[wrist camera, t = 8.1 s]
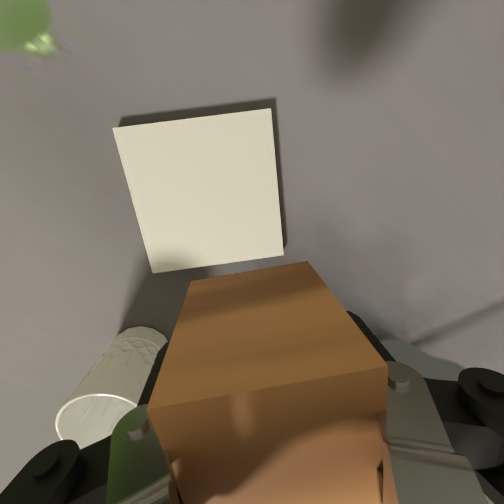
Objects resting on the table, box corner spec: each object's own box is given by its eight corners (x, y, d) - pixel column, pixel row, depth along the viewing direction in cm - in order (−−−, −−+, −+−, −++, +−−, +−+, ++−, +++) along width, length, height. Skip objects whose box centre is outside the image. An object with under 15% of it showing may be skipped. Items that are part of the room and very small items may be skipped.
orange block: (190, 281, 11) (146, 409, 5) (307, 261, 11) (388, 365, 5) (214, 373, 13) (200, 545, 7) (315, 355, 13) (383, 511, 7)
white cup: (189, 345, 32) (170, 422, 22) (150, 384, 33) (118, 471, 24) (134, 309, 30) (88, 378, 20) (95, 352, 31) (36, 435, 22)
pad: (117, 129, 23) (112, 128, 23) (269, 110, 24) (270, 108, 23) (155, 269, 28) (152, 273, 27) (282, 252, 29) (283, 255, 28)
